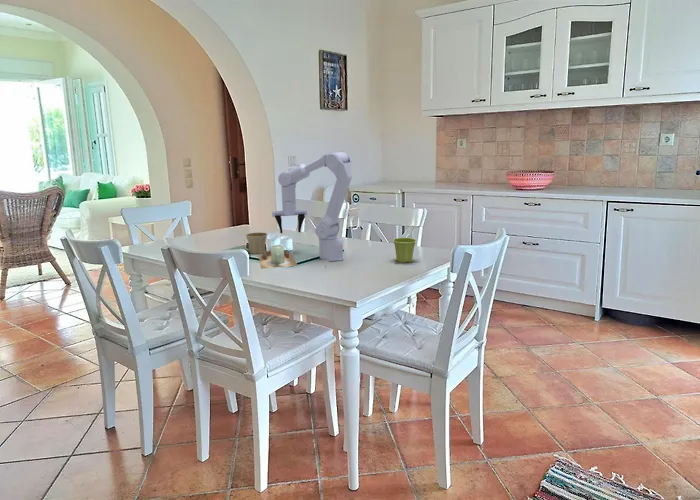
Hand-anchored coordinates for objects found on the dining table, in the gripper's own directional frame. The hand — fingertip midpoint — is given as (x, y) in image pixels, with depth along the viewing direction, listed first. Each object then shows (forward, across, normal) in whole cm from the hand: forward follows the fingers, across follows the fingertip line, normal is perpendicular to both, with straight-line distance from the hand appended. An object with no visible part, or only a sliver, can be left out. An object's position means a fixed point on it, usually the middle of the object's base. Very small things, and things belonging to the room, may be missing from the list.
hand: (290, 232), depth 220 cm
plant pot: (+10, -43, +24) cm, 50 cm away
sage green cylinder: (+9, +7, +17) cm, 20 cm away
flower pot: (+10, +14, -7) cm, 19 cm away
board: (+10, +7, +11) cm, 16 cm away
